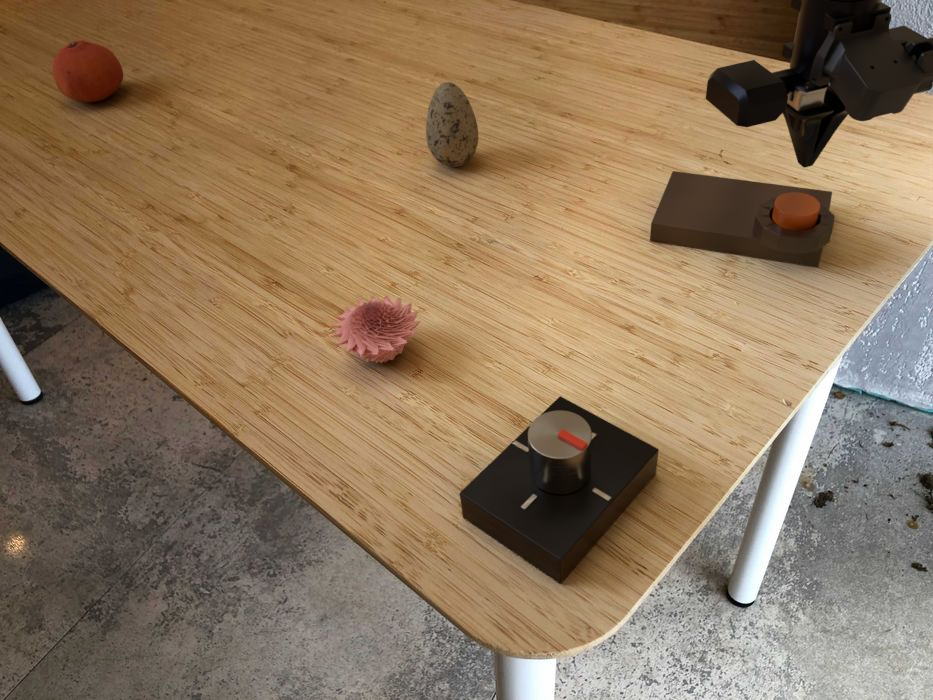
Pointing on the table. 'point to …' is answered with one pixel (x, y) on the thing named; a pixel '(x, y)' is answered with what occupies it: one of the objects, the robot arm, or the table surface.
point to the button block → (737, 219)
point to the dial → (560, 452)
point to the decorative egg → (451, 126)
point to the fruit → (87, 71)
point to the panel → (559, 497)
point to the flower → (376, 328)
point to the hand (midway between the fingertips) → (804, 164)
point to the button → (796, 211)
